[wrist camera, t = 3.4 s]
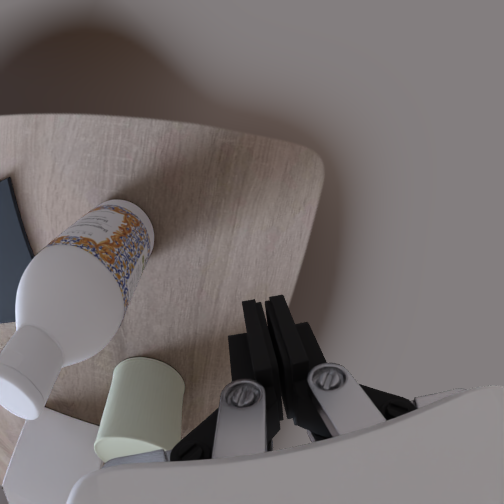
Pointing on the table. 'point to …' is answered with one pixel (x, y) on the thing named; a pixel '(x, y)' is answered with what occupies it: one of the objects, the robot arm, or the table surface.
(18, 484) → the gable box
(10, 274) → the mat
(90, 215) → the bath foam
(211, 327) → the table surface
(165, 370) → the can
